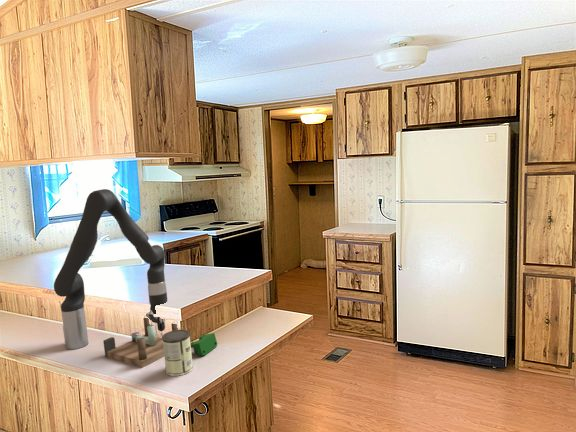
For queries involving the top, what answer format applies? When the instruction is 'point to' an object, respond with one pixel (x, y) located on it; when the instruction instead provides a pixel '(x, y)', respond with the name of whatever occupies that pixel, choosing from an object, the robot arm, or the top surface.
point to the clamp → (204, 344)
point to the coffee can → (177, 352)
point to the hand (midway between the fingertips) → (161, 330)
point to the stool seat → (136, 349)
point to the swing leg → (148, 340)
